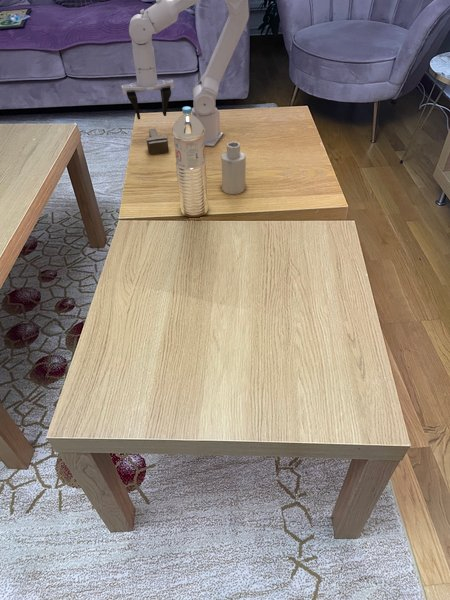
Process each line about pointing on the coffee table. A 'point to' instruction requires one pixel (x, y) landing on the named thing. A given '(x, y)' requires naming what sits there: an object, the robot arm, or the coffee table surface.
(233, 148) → the silver bottle
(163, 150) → the brush
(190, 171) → the water bottle
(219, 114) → the robot arm
